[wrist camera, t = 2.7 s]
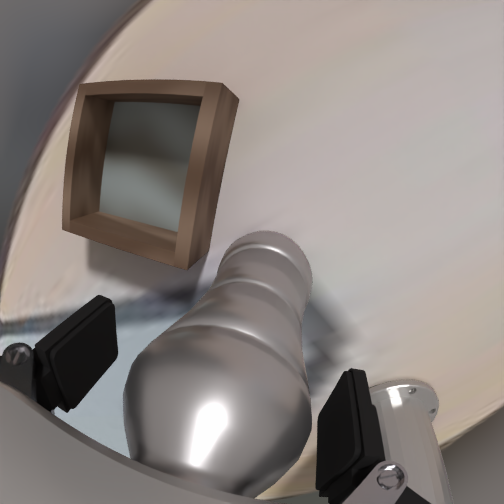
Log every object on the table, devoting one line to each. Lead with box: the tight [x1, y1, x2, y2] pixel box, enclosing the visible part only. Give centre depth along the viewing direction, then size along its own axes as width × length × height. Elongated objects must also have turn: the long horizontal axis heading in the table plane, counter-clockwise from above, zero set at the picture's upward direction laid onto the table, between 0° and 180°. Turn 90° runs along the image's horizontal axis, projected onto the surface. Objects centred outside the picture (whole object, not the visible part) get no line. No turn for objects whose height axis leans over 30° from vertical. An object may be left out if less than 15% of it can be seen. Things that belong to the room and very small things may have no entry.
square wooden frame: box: [62, 80, 239, 270], centre depth 19 cm, size 12×12×4 cm
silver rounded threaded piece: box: [123, 231, 313, 498], centre depth 12 cm, size 6×7×20 cm
